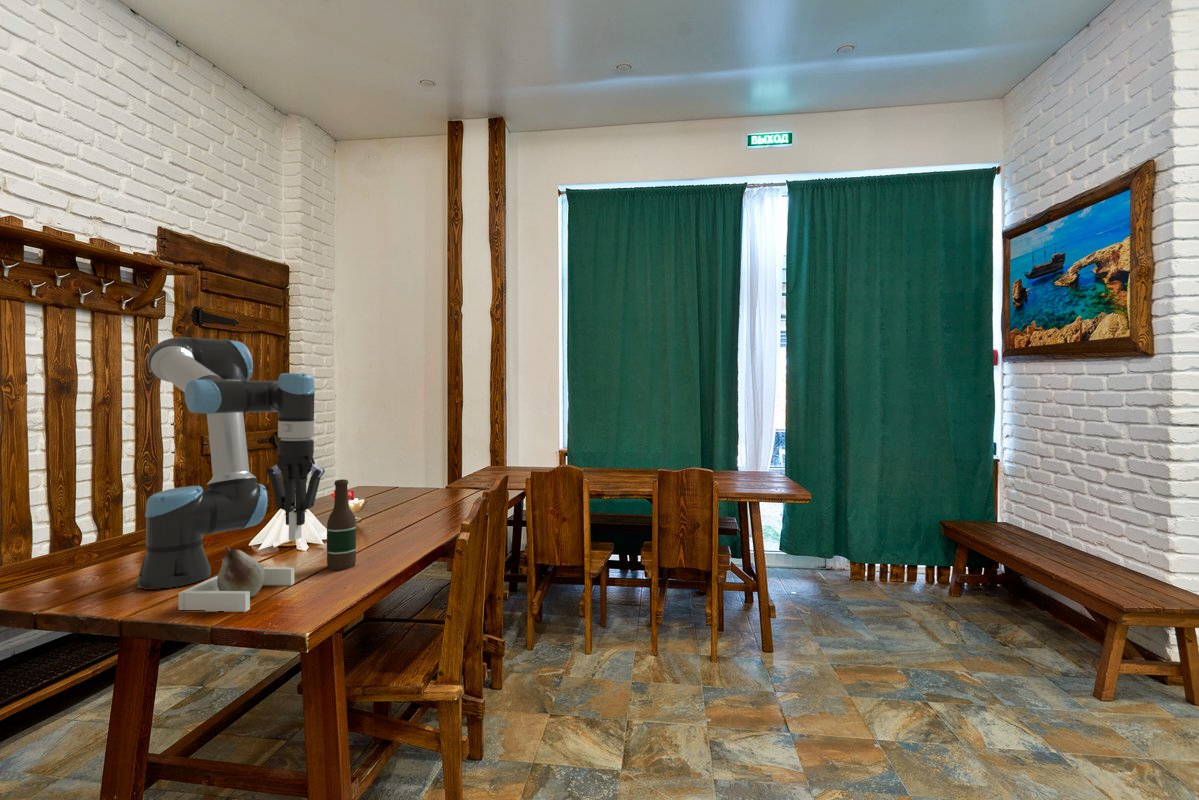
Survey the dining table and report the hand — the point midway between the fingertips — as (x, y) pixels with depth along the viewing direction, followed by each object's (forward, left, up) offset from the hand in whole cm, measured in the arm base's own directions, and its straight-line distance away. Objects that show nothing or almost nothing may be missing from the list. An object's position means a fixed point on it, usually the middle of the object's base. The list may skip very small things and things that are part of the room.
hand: (295, 538), depth 135 cm
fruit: (-13, -1, -14) cm, 19 cm away
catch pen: (-12, 0, -14) cm, 18 cm away
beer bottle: (0, +24, -14) cm, 27 cm away
